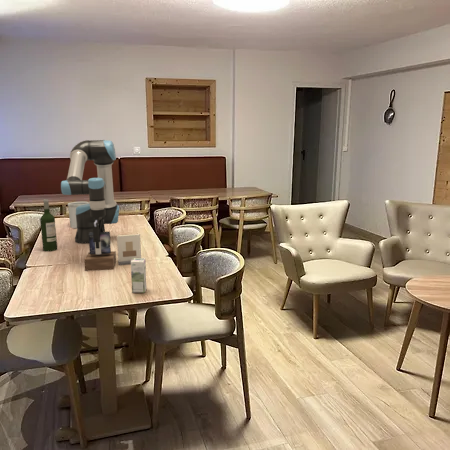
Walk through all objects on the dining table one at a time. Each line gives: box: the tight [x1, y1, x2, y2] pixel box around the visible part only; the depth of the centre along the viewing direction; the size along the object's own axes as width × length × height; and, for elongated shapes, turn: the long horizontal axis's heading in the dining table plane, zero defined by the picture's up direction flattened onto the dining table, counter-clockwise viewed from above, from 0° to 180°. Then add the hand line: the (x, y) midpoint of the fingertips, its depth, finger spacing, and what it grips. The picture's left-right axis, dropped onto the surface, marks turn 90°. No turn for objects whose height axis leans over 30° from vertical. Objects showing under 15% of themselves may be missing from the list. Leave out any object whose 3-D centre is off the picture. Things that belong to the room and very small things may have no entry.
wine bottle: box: [39, 198, 58, 252], centre depth 257 cm, size 8×8×30 cm
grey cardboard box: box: [116, 233, 142, 266], centre depth 234 cm, size 6×12×15 cm, turn 107°
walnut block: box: [84, 250, 117, 272], centre depth 229 cm, size 14×14×6 cm
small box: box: [88, 231, 112, 254], centre depth 227 cm, size 11×6×10 cm, turn 103°
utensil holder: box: [67, 201, 90, 229], centre depth 320 cm, size 15×15×18 cm
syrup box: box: [130, 257, 148, 294], centre depth 193 cm, size 6×6×14 cm
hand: (100, 251), depth 228 cm, fingers closed on small box, 7 cm apart
